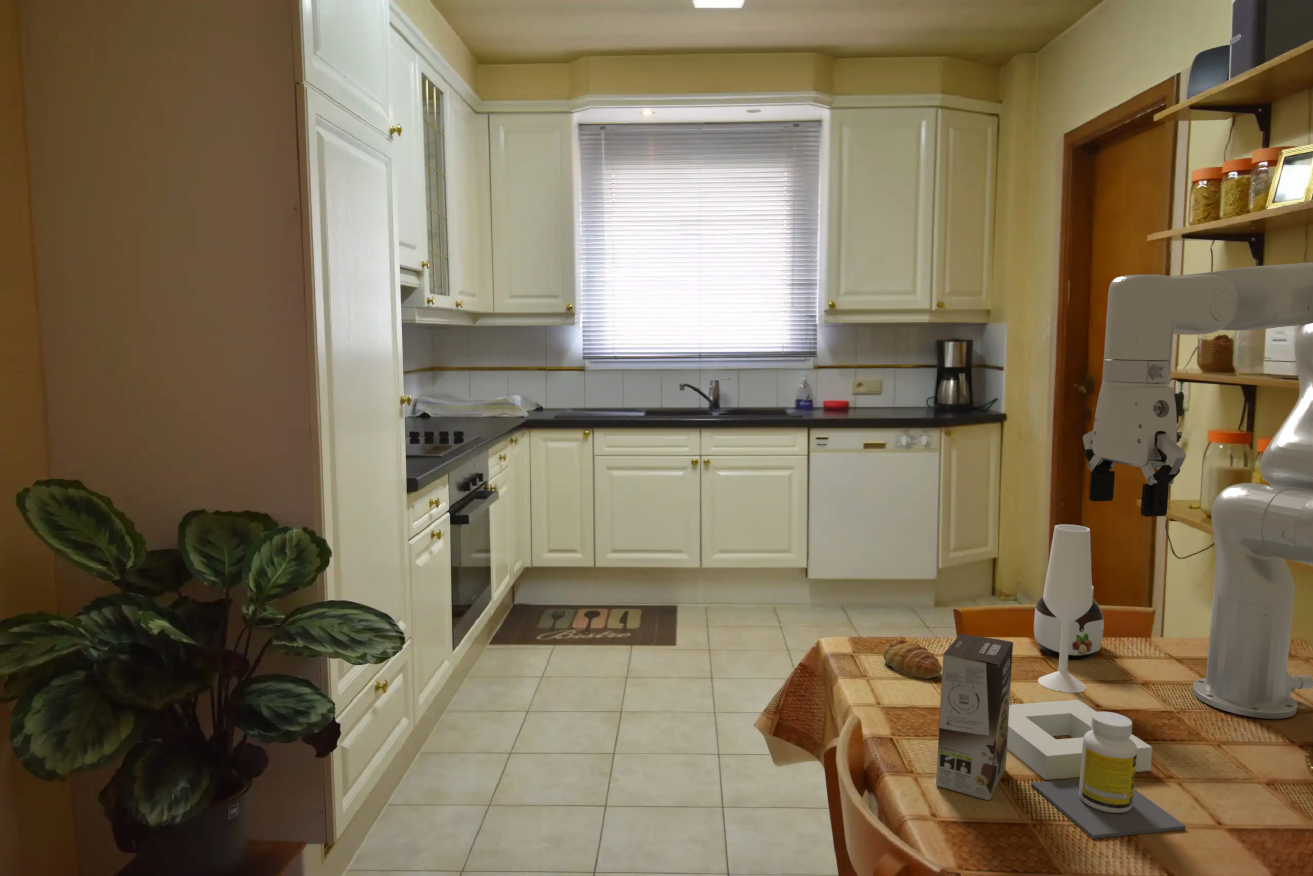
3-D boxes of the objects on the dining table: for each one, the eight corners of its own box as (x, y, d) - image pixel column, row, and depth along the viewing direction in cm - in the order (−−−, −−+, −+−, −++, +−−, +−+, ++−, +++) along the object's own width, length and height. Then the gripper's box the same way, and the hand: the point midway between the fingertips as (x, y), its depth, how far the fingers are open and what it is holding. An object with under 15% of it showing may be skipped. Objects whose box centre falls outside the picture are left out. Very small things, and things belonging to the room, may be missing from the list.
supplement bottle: (1139, 817, 97) (1147, 731, 95) (1086, 812, 98) (1093, 727, 96) (1122, 792, 102) (1129, 710, 101) (1072, 787, 103) (1078, 706, 102)
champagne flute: (1027, 679, 136) (1037, 525, 133) (1060, 672, 139) (1070, 521, 136) (1063, 695, 130) (1074, 534, 127) (1096, 688, 132) (1108, 530, 130)
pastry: (953, 677, 137) (954, 653, 137) (920, 685, 134) (921, 661, 134) (909, 657, 145) (910, 634, 145) (877, 664, 142) (878, 641, 142)
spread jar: (1040, 659, 144) (1044, 589, 143) (1023, 635, 156) (1027, 571, 154) (1119, 664, 142) (1124, 593, 141) (1096, 640, 154) (1101, 574, 152)
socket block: (1076, 720, 121) (1078, 699, 121) (1150, 770, 108) (1152, 747, 107) (982, 728, 119) (983, 706, 119) (1045, 780, 105) (1046, 756, 105)
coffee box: (992, 802, 100) (999, 664, 98) (934, 786, 104) (940, 653, 102) (1008, 769, 108) (1015, 640, 106) (953, 755, 111) (960, 630, 109)
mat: (1115, 778, 106) (1115, 775, 106) (1185, 829, 95) (1185, 825, 95) (1031, 786, 104) (1031, 782, 104) (1092, 838, 93) (1093, 835, 93)
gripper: (1216, 378, 104) (1204, 521, 106) (1115, 371, 121) (1107, 495, 123) (1159, 378, 103) (1148, 523, 105) (1066, 371, 120) (1058, 496, 122)
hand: (1126, 508), depth 114 cm, fingers open, 9 cm apart
